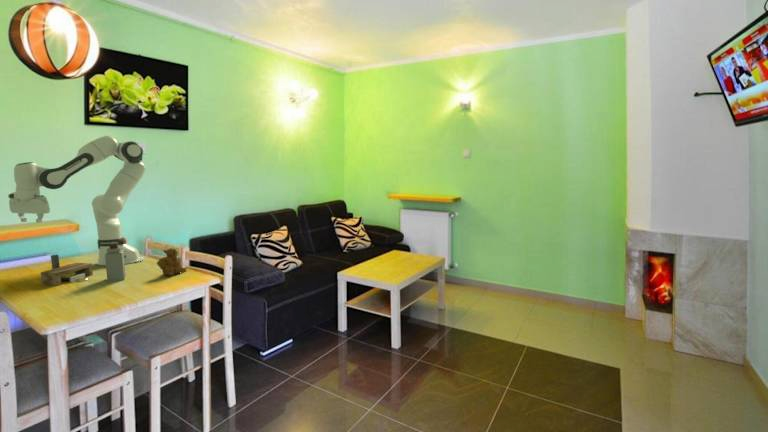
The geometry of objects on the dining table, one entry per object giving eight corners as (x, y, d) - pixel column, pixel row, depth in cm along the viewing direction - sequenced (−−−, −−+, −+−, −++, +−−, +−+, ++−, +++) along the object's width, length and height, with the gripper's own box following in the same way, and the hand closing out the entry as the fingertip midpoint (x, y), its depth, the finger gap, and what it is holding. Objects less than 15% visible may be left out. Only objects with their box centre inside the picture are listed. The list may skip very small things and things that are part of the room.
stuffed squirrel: (188, 270, 210) (186, 246, 208) (174, 277, 196) (172, 252, 194) (169, 270, 210) (167, 246, 208) (154, 277, 196) (152, 252, 194)
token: (89, 279, 194) (89, 277, 193) (87, 281, 190) (87, 279, 190) (77, 280, 191) (77, 278, 191) (76, 283, 188) (75, 280, 187)
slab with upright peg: (47, 280, 190) (44, 256, 188) (61, 276, 197) (58, 253, 195) (72, 282, 188) (69, 257, 186) (85, 278, 194) (83, 254, 193)
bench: (42, 284, 184) (40, 272, 183) (77, 274, 202) (76, 262, 201) (58, 285, 182) (56, 273, 182) (92, 274, 200) (91, 263, 199)
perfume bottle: (107, 281, 189) (104, 245, 186) (109, 278, 195) (106, 242, 192) (124, 279, 192) (120, 244, 189) (125, 276, 198) (122, 241, 195)
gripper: (52, 194, 197) (55, 221, 199) (18, 194, 200) (22, 220, 202) (39, 195, 191) (42, 223, 193) (5, 195, 194) (8, 222, 196)
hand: (31, 222), depth 197 cm, fingers open, 8 cm apart
